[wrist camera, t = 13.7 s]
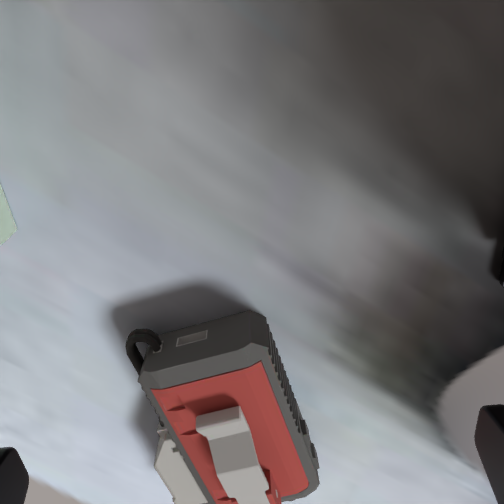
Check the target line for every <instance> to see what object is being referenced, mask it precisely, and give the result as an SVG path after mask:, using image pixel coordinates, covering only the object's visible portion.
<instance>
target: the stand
mask: <svg viewBox="0 0 504 504" xmlns="http://www.w3.org/2000/svg"><path fill="white" fill-rule="evenodd" d="M17 230H18V229H17V227H16V224H15V221H14V219H13V216H12V213H11V211H10V208H9V205H8V203H7V200H6V197H5V195H4V192H3V189H2V187H1V184H0V246H1V245H2V244H3V243H4V242H5V241H6V240H7V239H8V238H9V237H10V236H12V235H13V234H14V233H15V232H16V231H17Z"/></svg>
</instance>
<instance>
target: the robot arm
mask: <svg viewBox="0 0 504 504" xmlns="http://www.w3.org/2000/svg"><path fill="white" fill-rule="evenodd" d="M502 258H503V263H502V269H501V274H500V279H499V281H500V284H501V285H502V286H503V287H504V248H503V253H502ZM474 437H475V445H476V448H477V451H478V453H479V456H480V459H481V461H482V464H483V466H484V469H485V471H486V474H487V477H488V479H489V482H490V484H491V487H492V490H493V492H494V495H495V497H496V500H497V502H498V504H504V405H501V404H499V405H487V406H483V407H482V408H481V409H480V411H479V415H478V421H477V425H476V430H475V436H474ZM28 485H29V476H28V472H27V470H26V468H25V466H24V464H23V462H22V460H21V458H20V456H19V454H18V452H17V450H16V449H14V448H13V447H4V448H0V504H24V501H25V497H26V493H27V489H28Z"/></svg>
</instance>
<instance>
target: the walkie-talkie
mask: <svg viewBox="0 0 504 504" xmlns="http://www.w3.org/2000/svg"><path fill="white" fill-rule="evenodd" d="M136 342H146V343H148V344H149V346H148V348H147V350H146V354H145V357H144V359H143V357H142V355H141V354H140V352H139V350H138V348H137V346H136ZM126 351H127V355H128V357H129V359H130V361H131V362H132V364H133V366H134V368H135V369H136V371H137V373H138V375H139V379H138V382H139V383H140V384H141V385H142V390H143V391H145V392H146V394H147V395H146V397H147V398H148V399H150V401H151V405H152V406H153V407H154V408H155V412H156V414H158V415H159V423H158V428H157V432H158V434H159V436H160V439H159V442H158V447H157V452H156V457H155V463H154V468H155V469H156V471H157V472H158V474H159V475H160V477H161V479H162V480H163V482H164V483H165V485H166V487H167V488H168V490H169V491H170V493H171V495H172V496H173V502H174V504H281V502H284V501H293V500H295V499H298V498H303V497H306V496H307V495H309V494H310V493H312V492H313V491H315V490H316V489H317V487H318V485H319V484H320V483H319V477H318V471H317V469H318V468H319V463H318V457H317V453H316V450H315V447H314V444H313V443H311V440H310V437H309V431H308V428H307V425H306V422H305V420H303V418H302V415H301V413H300V410H299V407H298V404H297V402H296V399H294V393H293V392H292V389H291V385H289V380H288V378H287V376H286V371H284V366H283V364H281V357H280V356H279V355H278V349H277V348H276V346H275V341H274V340H273V337H272V333H271V332H270V329H269V324H267V320H266V317H264V316H262V315H260V314H257V313H255V312H253V311H251V310H249V311H245V312H242V313H238V314H234V315H231V316H227V317H223V318H220V319H216V320H212V321H208V322H205V323H201V324H197V325H194V326H190V327H186V328H183V329H179V330H175V331H171V332H168V333H164V334H160V335H157V334H155V333H154V332H153V331H151V330H149V329H136V330H134V331H132V332H131V333H130V335H129V336H128V340H127V342H126Z"/></svg>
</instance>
